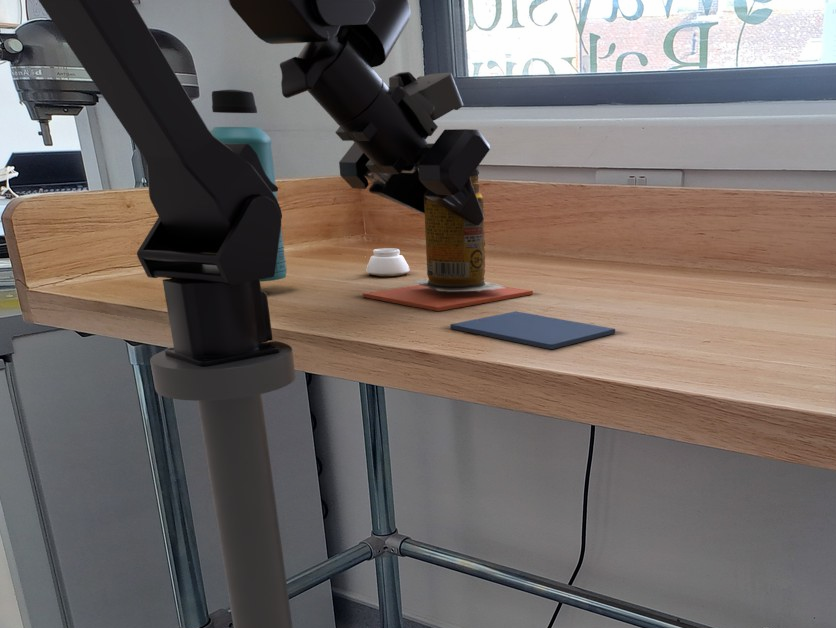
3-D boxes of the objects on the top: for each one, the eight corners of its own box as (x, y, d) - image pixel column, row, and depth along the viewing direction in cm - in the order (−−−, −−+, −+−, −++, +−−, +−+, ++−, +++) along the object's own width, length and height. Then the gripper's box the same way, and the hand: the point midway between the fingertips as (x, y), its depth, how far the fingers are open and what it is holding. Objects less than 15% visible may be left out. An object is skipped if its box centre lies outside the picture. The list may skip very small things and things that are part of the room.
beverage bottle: (277, 284, 96) (253, 92, 89) (299, 292, 91) (276, 89, 84) (217, 290, 92) (187, 89, 85) (237, 299, 87) (207, 87, 80)
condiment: (475, 279, 95) (472, 165, 91) (506, 289, 88) (504, 167, 84) (412, 282, 91) (405, 164, 87) (438, 294, 84) (432, 166, 81)
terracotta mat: (438, 311, 82) (437, 307, 82) (362, 297, 89) (362, 293, 89) (532, 294, 91) (532, 290, 91) (458, 282, 98) (457, 279, 98)
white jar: (362, 277, 101) (404, 277, 101) (360, 252, 100) (402, 252, 100) (373, 271, 106) (413, 271, 106) (371, 247, 105) (411, 247, 105)
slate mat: (551, 349, 67) (551, 344, 67) (450, 328, 74) (450, 324, 74) (615, 333, 73) (615, 328, 73) (515, 315, 80) (515, 311, 80)
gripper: (468, 29, 74) (563, 164, 85) (356, 45, 86) (451, 161, 97) (396, 124, 71) (503, 250, 82) (290, 126, 83) (396, 236, 94)
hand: (462, 220), depth 89 cm, fingers closed on condiment, 6 cm apart
